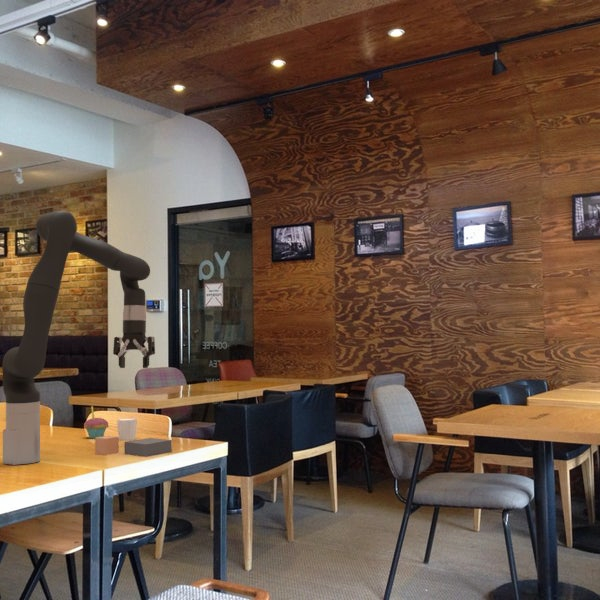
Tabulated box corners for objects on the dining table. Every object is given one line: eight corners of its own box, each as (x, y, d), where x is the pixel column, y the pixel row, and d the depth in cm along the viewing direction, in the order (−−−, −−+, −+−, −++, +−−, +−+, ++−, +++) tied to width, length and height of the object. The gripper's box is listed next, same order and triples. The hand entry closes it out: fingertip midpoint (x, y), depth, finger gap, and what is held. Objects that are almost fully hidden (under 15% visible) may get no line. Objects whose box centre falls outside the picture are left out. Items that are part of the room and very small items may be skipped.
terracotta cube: (105, 455, 209) (104, 438, 209) (95, 454, 212) (95, 437, 212) (118, 453, 213) (118, 436, 213) (108, 451, 216) (108, 435, 216)
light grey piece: (132, 440, 239) (131, 420, 239) (113, 440, 240) (113, 420, 240) (140, 437, 245) (140, 418, 246) (122, 437, 247) (122, 418, 247)
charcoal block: (145, 458, 204) (145, 444, 204) (124, 455, 210) (124, 441, 210) (171, 453, 212) (171, 440, 212) (150, 450, 218) (150, 437, 218)
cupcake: (95, 439, 243) (95, 405, 244) (78, 438, 247) (78, 404, 248) (113, 436, 251) (113, 403, 251) (96, 435, 255) (96, 402, 255)
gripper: (109, 319, 230) (108, 368, 228) (148, 318, 226) (147, 368, 225) (121, 320, 237) (120, 367, 236) (158, 319, 233) (158, 367, 232)
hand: (133, 368), depth 230 cm, fingers open, 8 cm apart
